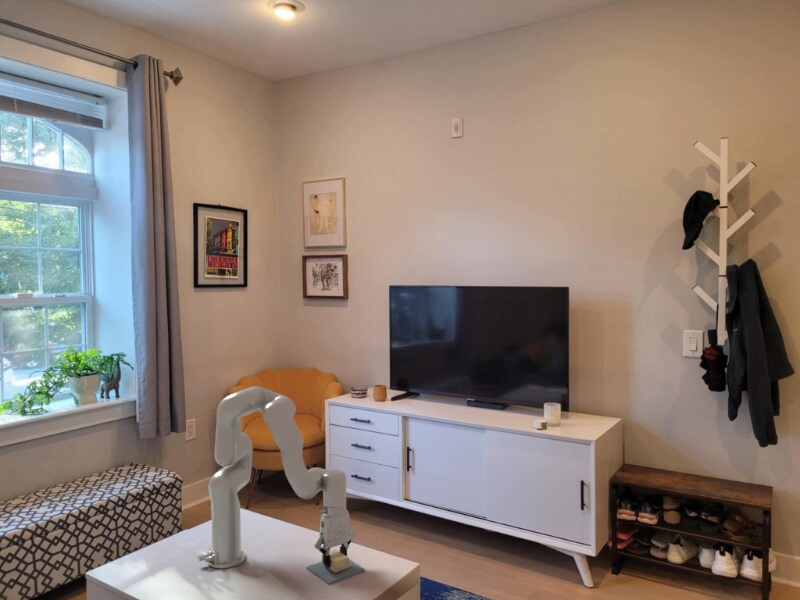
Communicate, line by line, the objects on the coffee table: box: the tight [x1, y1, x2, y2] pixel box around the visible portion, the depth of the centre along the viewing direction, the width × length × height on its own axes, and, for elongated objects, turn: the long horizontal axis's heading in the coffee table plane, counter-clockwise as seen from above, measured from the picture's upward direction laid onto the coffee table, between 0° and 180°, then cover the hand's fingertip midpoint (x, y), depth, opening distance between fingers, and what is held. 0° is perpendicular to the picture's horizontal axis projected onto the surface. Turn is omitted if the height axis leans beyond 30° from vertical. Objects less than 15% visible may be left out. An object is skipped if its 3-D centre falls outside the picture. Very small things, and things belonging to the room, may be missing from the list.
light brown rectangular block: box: [321, 549, 350, 572], centre depth 193 cm, size 8×6×3 cm
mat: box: [305, 559, 366, 586], centre depth 193 cm, size 14×14×1 cm
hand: (335, 562), depth 193 cm, fingers open, 5 cm apart
